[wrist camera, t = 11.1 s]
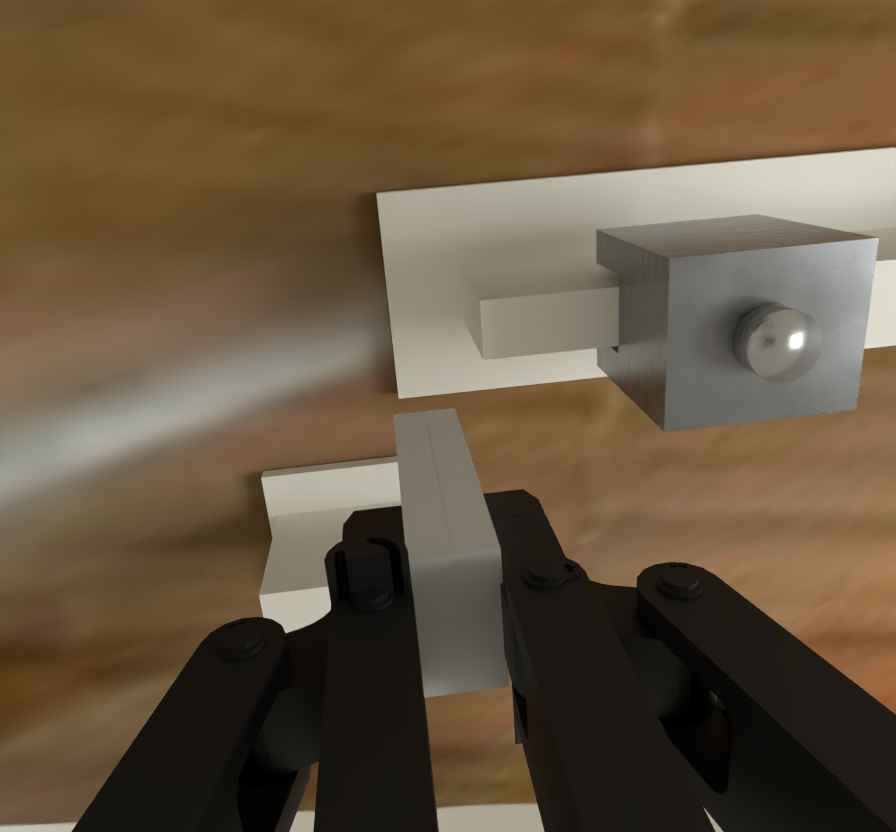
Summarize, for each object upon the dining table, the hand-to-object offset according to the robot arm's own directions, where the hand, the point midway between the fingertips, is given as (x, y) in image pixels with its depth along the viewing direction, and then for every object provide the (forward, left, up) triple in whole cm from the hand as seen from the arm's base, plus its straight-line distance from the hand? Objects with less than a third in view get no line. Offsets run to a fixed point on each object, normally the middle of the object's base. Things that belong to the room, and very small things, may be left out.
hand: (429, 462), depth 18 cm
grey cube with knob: (0, +12, -14) cm, 19 cm away
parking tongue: (+12, -3, -19) cm, 23 cm away
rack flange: (0, +17, -19) cm, 26 cm away
